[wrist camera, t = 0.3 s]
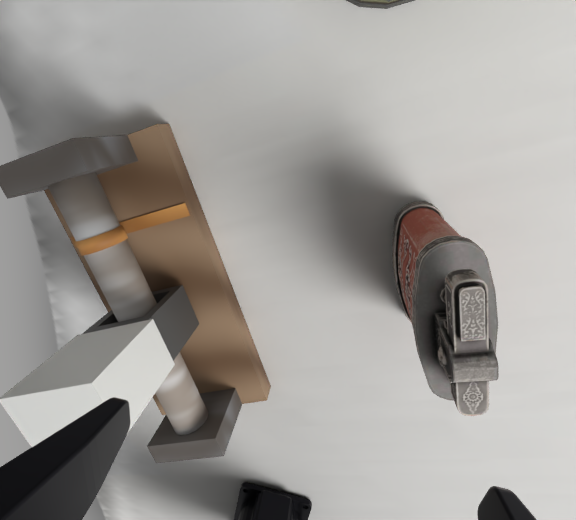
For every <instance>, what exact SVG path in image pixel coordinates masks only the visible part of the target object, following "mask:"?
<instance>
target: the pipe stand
mask: <svg viewBox="0 0 576 520" xmlns="http://www.w3.org/2000/svg"><path fill="white" fill-rule="evenodd" d="M0 186H1V188H2V190H3V192H4V193H5V195H6V197H7V198H12V197H16V196H20V195H25V194H29V193H34V192H38V191H42V190H44V191H45V193H46V195H47V197H48V198H49V200H50V202H51V204H52V206H53V208H54V210H55V212H56V214H57V216H58V217H59V219H60V221H61V223H62V225H63V227H64V229H65V231H66V233H67V235H68V237H69V238H70V240H71V242H72V244H73V246H74V248H75V250H76V252H77V254H78V256H79V257H80V259H81V261H82V263H83V265H84V267H85V269H86V271H87V273H88V275H89V276H90V278H91V280H92V282H93V284H94V286H95V288H96V290H97V292H98V294H99V296H100V297H101V299H102V301H103V303H104V305H105V307H106V309H107V311H108V312H110V311H111V310H112V311H113V313H114V315H115V317H116V319H117V321H118V322H121V321H125V320H130V319H134V318H139V317H144V316H145V315H146V314H147V313H148V312H149V311H150V310H151V309H152V308H153V307H154V306H155V305H156V304H157V302H156V300H155V298H154V296H153V294H152V292H154V291H158V290H163V289H167V288H171V287H175V286H179V285H183V287H184V289H185V292H186V294H187V296H188V299H189V301H190V303H191V305H192V308H193V310H194V312H195V315H196V317H197V319H198V321H199V325H198V327H197V328H196V330H195V331H194V332H193V334H192V335H191V337H190V338H189V340H188V341H187V342H186V344H185V345H184V347H183V348H182V349H181V351H180V352H179V354H178V355H177V357H176V358H175V359H174V363H175V365H174V367H173V368H172V370H171V371H170V373H169V374H168V375H167V377H166V378H165V380H164V381H163V383H162V384H161V386H160V387H159V389H158V390H157V391H156V393H155V394H154V396H153V398H154V400H155V402H156V404H157V406H158V408H159V410H160V412H161V414H162V415H166V416H165V417H164V419H163V421H162V423H161V424H160V426H159V428H158V429H157V431H156V433H155V434H154V436H153V438H152V439H151V441H150V443H149V444H148V446H147V447H148V449H149V451H150V453H151V454H152V456H153V458H154V460H155V461H156V463H162V462H171V461H181V460H190V459H200V458H210V457H219V456H224V454H225V451H226V448H227V445H228V443H229V440H230V437H231V434H232V431H233V428H234V426H235V423H236V420H237V417H238V414H239V411H240V409H241V406H242V404H244V403H251V402H258V401H266V400H267V398H268V394H269V391H270V387H271V386H270V383H269V381H268V378H267V376H266V373H265V370H264V368H263V365H262V363H261V360H260V357H259V355H258V352H257V350H256V347H255V345H254V342H253V339H252V337H251V334H250V332H249V329H248V326H247V324H246V321H245V319H244V316H243V314H242V311H241V308H240V306H239V303H238V301H237V298H236V295H235V293H234V290H233V288H232V285H231V283H230V280H229V277H228V275H227V272H226V270H225V267H224V264H223V262H222V259H221V257H220V254H219V252H218V249H217V246H216V244H215V241H214V239H213V236H212V233H211V231H210V228H209V226H208V223H207V221H206V218H205V215H204V213H203V210H202V208H201V205H200V202H199V200H198V197H197V195H196V192H195V189H194V187H193V184H192V182H191V179H190V177H189V174H188V171H187V169H186V166H185V164H184V161H183V158H182V156H181V153H180V151H179V148H178V146H177V143H176V140H175V138H174V135H173V133H172V130H171V127H170V125H169V124H156V125H153V126H151V127H148V128H145V129H142V130H140V131H137V132H134V133H132V134H129V135H120V136H104V137H88V138H72V139H70V140H67V141H64V142H62V143H59V144H56V145H54V146H51V147H49V148H46V149H43V150H41V151H38V152H35V153H33V154H30V155H27V156H25V157H22V158H20V159H17V160H14V161H12V162H9V163H6V164H4V165H1V166H0Z"/></svg>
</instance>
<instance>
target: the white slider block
mask: <svg viewBox="0 0 576 520" xmlns="http://www.w3.org/2000/svg"><path fill="white" fill-rule="evenodd" d="M152 294H153V296H154V298H155V300H156V302H157V304H156V305H155V306H154V307H153V308H152V309H151V310H150V311H149V312H148V313H147V314H146V315H145V316H144V317H139V318H134V319H130V320H125V321H121V322H118V321H117V319H116V317H115V315H114V313H113V311H112V310H111V311H110V312H108V313H107V314H106V315H105V316H103V317H102V318H101V319H100V320H99V321H97V322H96V323H95V324H94V325H92V326H91V327H90V328H89V329H88V330H86V331H85V332H84V333H83V334H81V335H77V336H76V337H75V338H73V339H72V340H71V341H70V342H68V343H67V344H66V345H65V346H63V347H62V348H61V349H60V350H59V351H57V352H56V353H55V354H54V355H52V356H51V357H50V358H49V359H47V360H46V361H45V362H44V363H42V364H41V365H40V366H39V367H38V368H37V369H35V370H34V371H33V372H31V373H30V374H29V375H28V376H26V377H25V378H24V379H23V380H22V381H20V382H19V383H18V384H16V385H15V386H14V387H13V388H12V389H10V390H9V391H8V392H7V393H5V394H4V395H3V396H2V397H0V403H1V404H2V406H3V407H4V409H5V410H6V412H7V413H8V414H9V416H10V417H11V419H12V420H13V422H14V423H15V424H16V426H17V427H18V429H19V430H20V432H21V433H22V434H23V436H24V437H25V439H26V440H27V441H28V443H29V444H30V446H31V447H33V446H35V445H36V444H38V443H40V442H41V441H43V440H44V439H46V438H48V437H49V436H51V435H52V434H54V433H56V432H57V431H59V430H60V429H62V428H63V427H65V426H67V425H68V424H70V423H71V422H73V421H75V420H76V419H78V418H79V417H81V416H83V415H84V414H86V413H87V412H89V411H90V410H92V409H94V408H95V407H97V406H98V405H100V404H102V403H103V402H105V401H106V400H108V399H110V398H113V397H116V398H120V399H124V400H127V401H128V402H129V409H130V427H129V430H128V432H129V431H130V429H131V428H132V426H133V425H134V423H135V422H136V421H137V419H138V418H139V416H140V415H141V413H142V412H143V410H144V409H145V407H146V406H147V405H148V403H149V402H150V400H151V399H152V397H153V396H154V394H155V393H156V391H157V390H158V389H159V387H160V386H161V384H162V383H163V381H164V380H165V378H166V377H167V375H168V374H169V373H170V371H171V370H172V368H173V367H174V365H175V363H174V359H175V358H176V357H177V355H178V354H179V352H180V351H181V349H182V348H183V347H184V345H185V344H186V342H187V341H188V340H189V338H190V337H191V335H192V334H193V332H194V331H195V330H196V328H197V327H198V325H199V321H198V319H197V317H196V315H195V312H194V310H193V308H192V305H191V303H190V301H189V299H188V296H187V294H186V292H185V289H184V287H183V285H179V286H175V287H171V288H167V289H163V290H158V291H154V292H152ZM127 434H128V433H127Z"/></svg>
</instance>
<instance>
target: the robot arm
mask: <svg viewBox="0 0 576 520" xmlns="http://www.w3.org/2000/svg"><path fill="white" fill-rule="evenodd" d="M129 427H130V409H129V402H128V401H127V400H124V399H120V398H116V397H113V398H110V399H108V400H106V401H105V402H103V403H102V404H100V405H98V406H97V407H95V408H94V409H92V410H90V411H89V412H87V413H86V414H84V415H83V416H81V417H79V418H78V419H76V420H75V421H73V422H71V423H70V424H68V425H67V426H65V427H63V428H62V429H60V430H59V431H57V432H56V433H54V434H52V435H51V436H49V437H48V438H46V439H44V440H43V441H41V442H40V443H38V444H36V445H35V446H33V447H32V448H30V449H29V450H27V451H25V452H24V453H22V454H21V455H19V456H17V457H16V458H14V459H13V460H11V461H9V462H8V463H6V464H5V465H3V466H2V467H0V520H82V519H83V517H84V515H85V514H86V512H87V510H88V509H89V507H90V506H91V504H92V502H93V500H94V499H95V497H96V495H97V493H98V491H99V490H100V488H101V486H102V484H103V482H104V480H105V478H106V476H107V474H108V472H109V469H110V467H111V465H112V463H113V461H114V459H115V457H116V455H117V453H118V451H119V449H120V447H121V445H122V443H123V441H124V439H125V437H126V435H127V433H128V430H129ZM311 506H312V503H311V501H310V500H308V499H305V498H301V497H297V496H294V495H290V494H286V493H283V492H279V491H275V490H272V489H268V488H264V487H261V486H257V485H253V484H250V483H243V484H242V485H241V489H240V494H239V498H238V503H237V508H236V513H235V518H234V520H308V517H309V514H310V511H311ZM478 520H536V518H535V517H534V516H533V515H532V514H531V513H530V511H529V510H528V509H527V508H526V507H525V505H524V504H523V503H522V502H521V501H520V499H519V498H518V497H517V496H516V495H515V494H514V493H513V492H512V491H511V490H508V489H505V488H501V487H496V486H493V487H490V489H489V490H488V492H487V493H486V495H485V496H484V498H483V500H482V501H481V503H480V504H479V507H478Z"/></svg>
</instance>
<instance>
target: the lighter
mask: <svg viewBox="0 0 576 520" xmlns="http://www.w3.org/2000/svg"><path fill="white" fill-rule="evenodd" d="M392 250H393V270H394V276H395V281H396V286H397V291H398V294H399V297H400V300H401V303H402V306H403V309H404V312H405V315H406V317H407V318H408V320H409V321H410V322H412V325H413V329H414V335H415V341H416V346H417V352H418V355H419V358H420V361H421V364H422V367H423V370H424V373H425V376H426V379H427V382H428V385H429V387H430V389H431V390H432V392H433V393H434V394H436V395H437V396H439V397H441V398H444V399H447V400H454V401H455V404H456V406H457V409H458V411H459V412H460V413H461V414H463V415H468V416H474V415H482V414H484V413H486V412H487V410H488V408H489V381H491V380H497V379H498V362H497V358H496V355H495V353H496V342H497V331H498V317H497V306H496V294H495V288H494V284H493V280H492V276H491V271H490V267H489V263H488V259H487V257H486V255H485V253H484V251H483V250H482V249H481V248H480V247H479V246H478V245H477V244H475V243H474V242H473V241H471V240H470V239H468V238H465V237H461V236H460V235H459V234H458V233H457V232H456V231H455V230H454V229H453V228H452V227H451V226H450V225H449V224H448V223H447V222H446V221H445V220H444V217H443V215H442V214H441V212H440V211H439V210H438V209H437V208H436V207H435V206H433V205H432V204H430V203H427V202H414V203H410V204H408V205H406V206H404V207H403V208H401V210H400V211H399V212H398V213H397V215H396V218H395V223H394V233H393V242H392Z"/></svg>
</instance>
